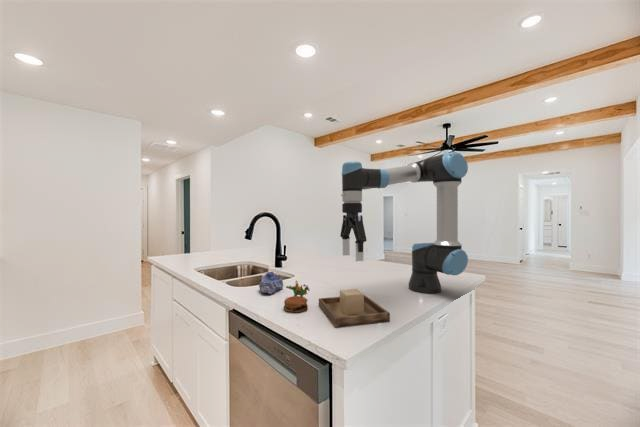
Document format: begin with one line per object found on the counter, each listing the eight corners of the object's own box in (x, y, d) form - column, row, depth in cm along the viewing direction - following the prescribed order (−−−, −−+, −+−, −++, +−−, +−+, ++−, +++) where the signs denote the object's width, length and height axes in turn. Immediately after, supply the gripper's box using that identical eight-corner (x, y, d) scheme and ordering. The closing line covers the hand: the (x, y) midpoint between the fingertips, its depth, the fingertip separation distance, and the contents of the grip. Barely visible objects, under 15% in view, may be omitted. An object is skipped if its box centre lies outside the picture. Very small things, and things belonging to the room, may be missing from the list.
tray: (363, 301, 116) (363, 294, 116) (389, 321, 95) (389, 313, 95) (318, 305, 111) (318, 298, 111) (335, 327, 90) (335, 318, 90)
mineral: (266, 269, 139) (284, 269, 136) (268, 287, 140) (286, 287, 137) (251, 279, 125) (270, 279, 122) (253, 299, 126) (273, 299, 123)
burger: (280, 307, 110) (281, 295, 110) (302, 304, 113) (302, 292, 113) (288, 315, 101) (288, 303, 101) (311, 312, 104) (311, 300, 104)
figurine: (308, 301, 116) (308, 282, 116) (283, 298, 120) (283, 280, 120) (311, 299, 119) (311, 281, 119) (286, 296, 123) (286, 278, 123)
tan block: (356, 306, 107) (356, 288, 107) (363, 312, 100) (363, 293, 100) (339, 308, 105) (339, 290, 105) (345, 314, 98) (345, 295, 98)
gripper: (332, 203, 115) (333, 253, 115) (355, 201, 91) (356, 264, 91) (349, 203, 117) (349, 252, 117) (376, 201, 93) (376, 263, 93)
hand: (352, 258), depth 104 cm, fingers open, 13 cm apart
